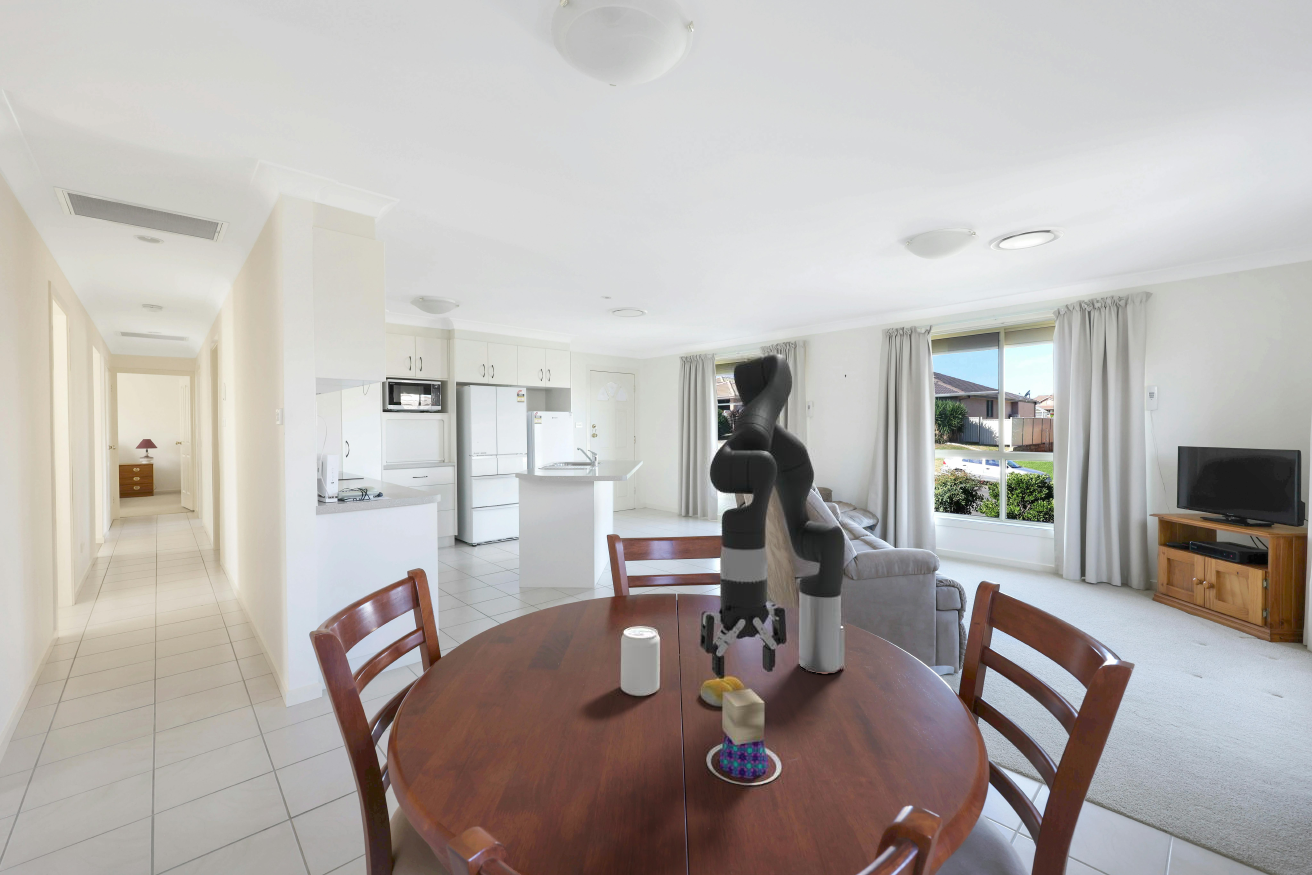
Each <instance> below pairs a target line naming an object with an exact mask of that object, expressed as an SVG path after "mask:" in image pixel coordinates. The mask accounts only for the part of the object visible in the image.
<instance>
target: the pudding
mask: <svg viewBox="0 0 1312 875" xmlns="http://www.w3.org/2000/svg"><path fill="white" fill-rule="evenodd" d="M718 751H720V753H719V759H718V761H719V766H720V767H719V768H720V769H722V770H723V771H726V772H728V774H729V775H731V776H732V777H736V778H739V777H740V778H741V777H743V778H745V779H755V778H757V776H763V775H766V773H767V772H768V768H769V766H770V763H769V759H768V756H770V758H771V759H773V761H774V763H775V766H776V769H775V772H774V774H773V775H772V776H771V777H769V778H768V779H766V780H763V781H759V782H752V783H751V782H750V783H747V782H739V781H734V780H730V779H729V778H726V777H724V776H722V775H721V774H719V773H718V772H717V771H716V770H715V769H714V767H713V766H712V758H713V755H714V754H715V753H716V752H718ZM705 762H706V764H707V767H708V769H709V770H710V771H711V772H712V773H713V774H714V775H715V776H717V777H719V778H720V779H722V780H724V781H726V782H729V783H733V784H737V785H741V786H742V785H743V786H758V785H762V784H766V783H769V782H772V781H774V780H775V779H776V778H777V777H778V776H780V774H781V772H782V762H781V761H780V758H779V757H778V756H777V755H776V754H775V752H772V751H771V750H770V749H768V748H766V746H765V742H764V740H762V741H756V742H750V743H744V744H738V745H735V744H734V743H733V741H732V740H731V739H730V738H729V736H728V735H727V734H726V733H725V734H724V738H723V742H722V743H721V744H718V745H716V746H714V747H712V749H711V750H709V752H708V753H707V755H706V761H705Z"/></svg>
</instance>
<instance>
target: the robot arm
mask: <svg viewBox="0 0 1312 875" xmlns="http://www.w3.org/2000/svg"><path fill="white" fill-rule="evenodd" d="M733 380H734V384H735V385H734V386H735V388H736V392H737V394H738V396H739V399H740V401H741V404H742V405H743V409H742V410H741V411H740V413H739V414H738V416H737V417H736V420H735V422H734V425H733V428H732V432H731V436H729V437H728V439H727V440H726V441H725V442H724V443H723V445H722V446H720V448H719V449H718V450H717V451H716V453H715V454H714V456H713V459H712V460H711V463H710V468H709V478H710V482H711V484H712V486H713V488H714V489H715V490H716V491H718V492H720V493H723V494H733V495H734V494H735V495H740V494H741V495H753V498H752V500H751V502H750V503H749V504H747V505H745V506H741V507H733V508H729V509H726V510H725V511H724V512H723V513H722V516H721V551H720V559H719V560H720V561H719V562H720V563H719V564H720V566H719V567H720V569H719V570H720V572H719V573H720V576H719V577H720V578H719V581H720V582H719V584H720V588H719V590H720V591H719V592H720V594H719V596H720V600H719V601H720V608H719V611H718V612H708V611H707V610H703V612H701V621H700V637H699V639H700V641H699V645H700V646H699V647H700V648H701V649H702V650H703V651H704V652H705V653H706V654H708V655H709V654H711V670H712V673H713V674H714V675H715V676H716V677H717V678H719V679H724V677H725V655H724V653H725V651H726V650H727V649H728V647H730V646H731V645H732V644H733V642H734V640H735V639H737V640H740V639H745V638H756V636H758V637H759V639H760V640H761V641H762V643H763V645H762V668H763V670H765V671H766V672H767V673H771V672H773V671H774V670H773V669H774V668H775V667H776V648H777V646H779V645H785V644H786V642H787V640H788V639H787V624H786V622H787V621H786V610H785V609H786V608H784V607H782V606H780V605H779V604H777V603H773V604H772V605H771V606H769V607H767V603H768V556H767V549H766V525H767V523H766V522H767V513H768V508H769V503H770V499H771V496H772V494H773V493H772V492H773V490H774V488H775V490H776V494H777V495H778V497H777V498H778V499H779V503H780V506H781V508H782V512H783V514H784V518H785V523H786V528H787V532H788V535H789V540H790V543H791V546H792V549H793V552H794V553H795V555H796V556H797V557H798V559H799V558H800V559H801V560H803V561H805V562H812V563H817V564H819V567H818V572H816V573H815V574H814V573H813V574H811V575H805V576H802V578H800V579H799V590H798V591H799V592H798V594H799V597H798V598H799V600H798V601H799V604H798V605H799V606H798V607H799V609H798V610H799V612H798V613H799V614H798V615H799V616H798V619H799V620H798V622H799V623H798V632H799V633H798V665H799V664H800V665H799V667H800V666H801V667H803V668H805V669H807V670H811V671H815V672H831V671H835V670H837V669H839V668H840V667H841V666H844V667H845V627H844V626H843V625H841V624H842V623H841V622H842V620H841V618H842V617H841V613H842V610H841V609H842V605H841V604H842V602H841V601H842V599H841V598H842V585H843V580H844V568H845V566H844V565H845V564H844V563H845V551H846V550H845V549H846V542H845V541H846V539H845V535H844V531H843V530H842V528H841V527H840V526H838V525H837V524H831V523H826V522H825V523H824V522H819V521H818V522H817V521H813V520H812V519H811V517H810V516H809V513H808V508H807V501H808V497H809V495H810V492H811V490H812V487H813V483H814V479H815V471H814V467H813V464H812V462H811V461H812V460H811V458H810V456H809V453H808V449H807V448H806V446H805V444H804V443H803V442H802V441H801V440H800V439H799V438H798V437H797V436H795V435H794V434H793V433H791V432H790V431H789V430H788V429H786V427H783V426H782V425H781V424H780V423H778V422H777V420H778V418H779V416H780V414H781V413H782V411H783V409H784V407H785V405H786V403H787V401H788V399H789V397H790V395H791V392H792V389H793V375H792V371H791V368H790V365H789V362H788V360H787V359H786V358H785V356H783V355H782V354H780V353H773V354H772V353H771V354H768V355H765V356H760V357H757V358H753V359H750V360H746V361H743V362H740V363H738V364H736V365H735V367H734V370H733ZM768 618H769V619H771V626H772V630H771V631H772V634H771V633H770V632H769V630H767V627H766V626H765V623H766V622H767V620H768ZM719 621H720V623H721V626H720V628H719V629H718V631H717V633H716V637H714V636H715V635H714V633H715V628H716V627H717V624H718V622H719ZM801 667H800V668H801ZM803 668H802V669H803ZM807 670H806V671H807Z"/></svg>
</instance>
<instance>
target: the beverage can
mask: <svg viewBox="0 0 1312 875" xmlns="http://www.w3.org/2000/svg"><path fill="white" fill-rule="evenodd" d="M620 639H621V640H620V642H621V643H620V689H621V690H622V691H623V692H624V693H626V694H628V695H630V696H636V697H645V696H649V695H651V694H654V693H656V692H658V690H659V689H660V677H661V676H660V668H661V664H660V663H661V662H660V661H661V660H660V657H661V656H660V655H661V653H660V651H661V650H660V649H661V648H660V647H661V638H660V636H659V632H658V630H657V629H655V628H654V627H650V626H644V625H643V626H642V625H641V626H638V625H637V626H630V627H628V628H626V629H624V630H623V633H622V636H621V638H620Z"/></svg>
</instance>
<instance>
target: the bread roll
mask: <svg viewBox="0 0 1312 875" xmlns="http://www.w3.org/2000/svg"><path fill="white" fill-rule="evenodd" d="M745 689H746V688H745V685H744V684H743V683H742V681H740V680H739V679H738V678H736V677H734V676H724V679H719V678H718V677H717V678H716V679H710V680H709V679H707V680H705V682H704V683H703V684H702V685H701V688H700V696H701V699H703V701H705V702H706V703H707V704H709V705H712V706H713V707H723V692H730V691H737V690H745Z"/></svg>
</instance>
